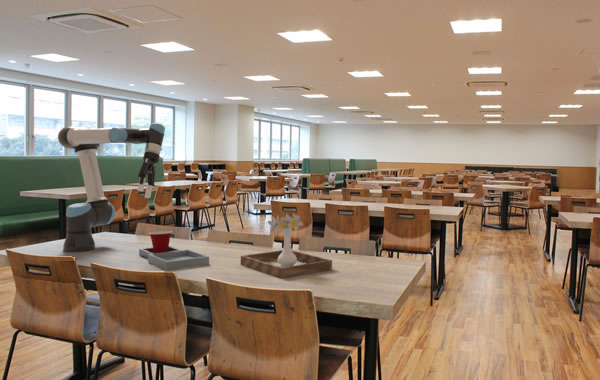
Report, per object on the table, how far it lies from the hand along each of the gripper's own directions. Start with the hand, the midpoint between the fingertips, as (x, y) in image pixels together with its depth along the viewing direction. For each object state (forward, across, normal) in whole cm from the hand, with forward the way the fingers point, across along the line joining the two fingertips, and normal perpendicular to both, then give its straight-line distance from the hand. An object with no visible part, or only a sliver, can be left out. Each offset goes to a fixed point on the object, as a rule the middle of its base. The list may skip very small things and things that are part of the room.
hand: (143, 194), depth 240 cm
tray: (+31, -7, -24) cm, 40 cm away
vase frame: (+28, -15, -73) cm, 79 cm away
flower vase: (+28, -14, -73) cm, 79 cm away
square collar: (+28, +8, -12) cm, 31 cm away
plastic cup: (+28, +8, -12) cm, 31 cm away
